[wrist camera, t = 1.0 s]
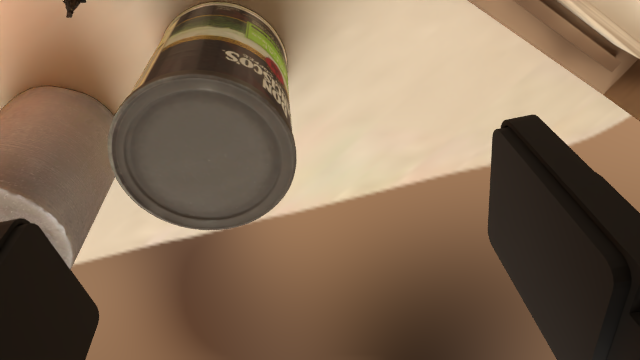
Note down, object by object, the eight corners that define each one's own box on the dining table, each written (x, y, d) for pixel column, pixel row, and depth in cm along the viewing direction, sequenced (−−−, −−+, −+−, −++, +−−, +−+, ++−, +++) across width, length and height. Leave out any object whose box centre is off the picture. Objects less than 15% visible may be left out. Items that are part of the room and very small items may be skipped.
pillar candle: (67, 198, 43) (-11, 334, 31) (-25, 118, 38) (-162, 245, 26) (151, 151, 41) (102, 278, 29) (66, 60, 36) (-36, 168, 24)
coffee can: (234, -29, 33) (217, 34, 22) (311, 82, 39) (330, 179, 27) (128, 49, 36) (63, 143, 24) (214, 143, 41) (194, 255, 30)
